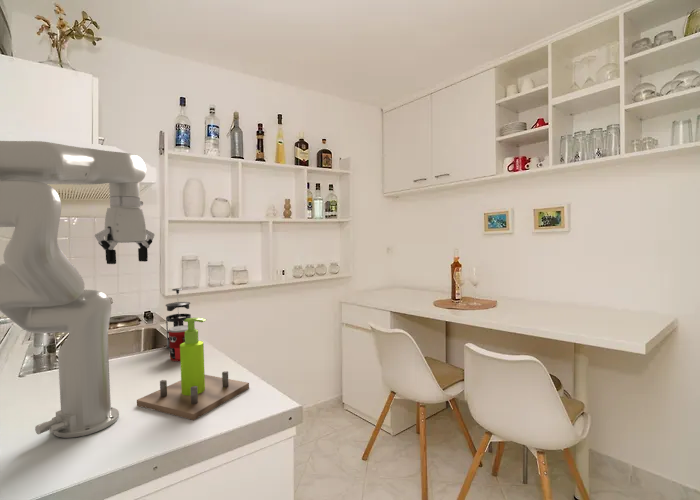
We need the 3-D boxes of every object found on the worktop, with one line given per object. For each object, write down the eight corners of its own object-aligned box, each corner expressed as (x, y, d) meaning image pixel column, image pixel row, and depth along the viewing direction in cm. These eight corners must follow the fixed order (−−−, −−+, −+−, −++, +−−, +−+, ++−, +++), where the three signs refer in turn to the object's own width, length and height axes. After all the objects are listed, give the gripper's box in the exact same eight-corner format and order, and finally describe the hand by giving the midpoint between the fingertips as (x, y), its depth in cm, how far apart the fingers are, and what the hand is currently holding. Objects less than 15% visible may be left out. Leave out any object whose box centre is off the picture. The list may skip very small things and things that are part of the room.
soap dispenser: (202, 395, 98) (199, 320, 98) (177, 395, 99) (174, 320, 98) (212, 386, 104) (210, 315, 103) (188, 386, 105) (186, 315, 104)
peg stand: (193, 420, 89) (192, 397, 88) (136, 405, 97) (135, 384, 97) (249, 387, 107) (248, 369, 106) (197, 377, 115) (196, 360, 115)
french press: (195, 346, 148) (193, 288, 147) (169, 351, 142) (166, 291, 141) (188, 339, 157) (186, 285, 156) (163, 344, 152) (161, 288, 151)
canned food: (171, 356, 137) (170, 326, 136) (195, 353, 139) (194, 324, 138) (168, 362, 129) (166, 331, 129) (193, 360, 132) (191, 329, 131)
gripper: (143, 206, 118) (146, 260, 119) (86, 202, 102) (88, 264, 103) (160, 205, 115) (162, 260, 115) (103, 201, 99) (106, 265, 100)
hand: (127, 262), depth 109 cm, fingers open, 9 cm apart
